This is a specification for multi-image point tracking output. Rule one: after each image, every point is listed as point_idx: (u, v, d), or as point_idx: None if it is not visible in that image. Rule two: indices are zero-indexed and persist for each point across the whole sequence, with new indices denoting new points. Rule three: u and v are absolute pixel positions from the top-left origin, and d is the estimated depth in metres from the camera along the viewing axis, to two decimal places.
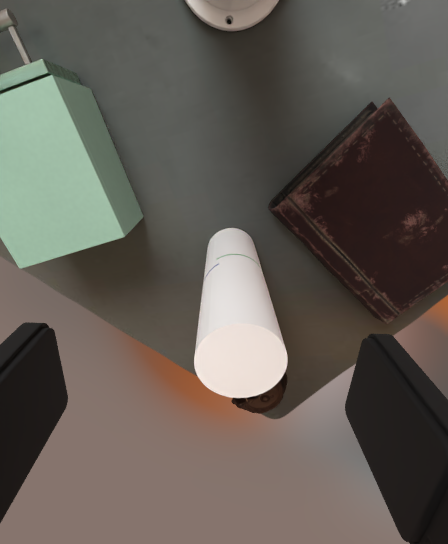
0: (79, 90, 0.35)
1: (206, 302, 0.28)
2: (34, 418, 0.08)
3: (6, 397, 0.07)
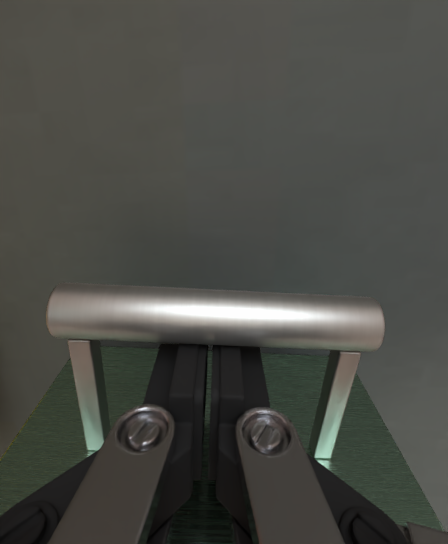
0: None
1: None
2: None
3: None
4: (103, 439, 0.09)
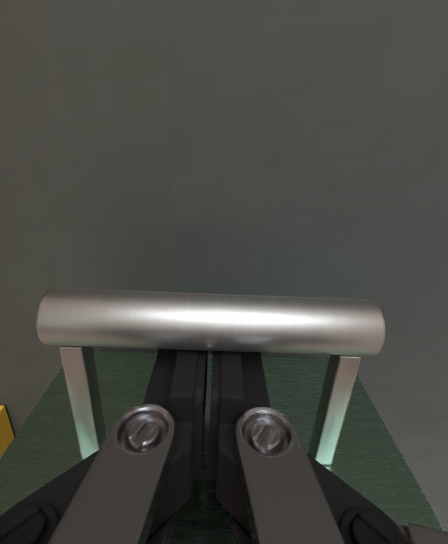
0: None
1: None
2: None
3: None
4: (98, 447, 0.09)
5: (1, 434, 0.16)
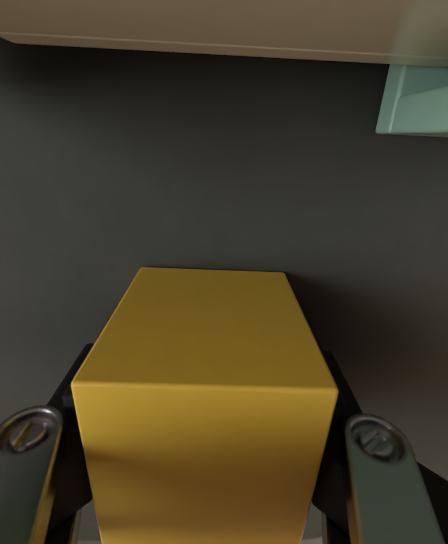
0: None
1: None
2: None
3: None
4: None
5: (178, 278, 0.09)
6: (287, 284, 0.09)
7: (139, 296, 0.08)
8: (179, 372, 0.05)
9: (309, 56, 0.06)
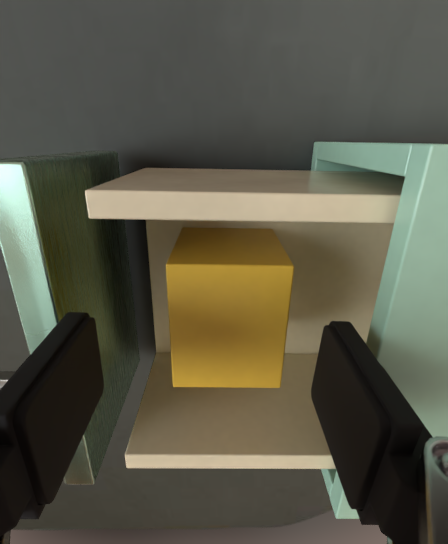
0: None
1: None
2: (80, 400, 0.09)
3: (61, 378, 0.08)
4: None
5: (207, 231, 0.15)
6: (273, 233, 0.15)
7: (186, 238, 0.14)
8: (216, 261, 0.11)
9: None
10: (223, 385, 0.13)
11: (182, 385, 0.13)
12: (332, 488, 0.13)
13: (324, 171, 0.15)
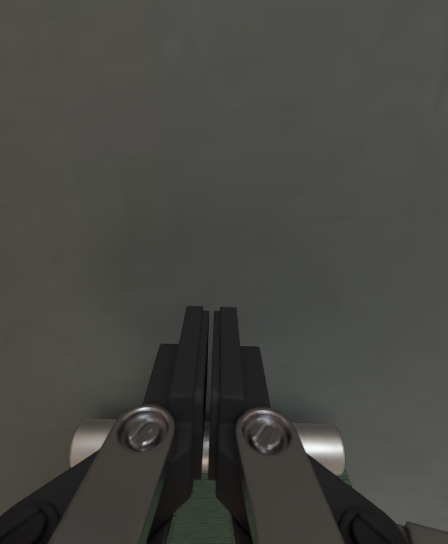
0: None
1: None
2: None
3: None
4: None
5: None
6: None
7: None
8: None
9: None
10: None
11: None
12: None
13: None
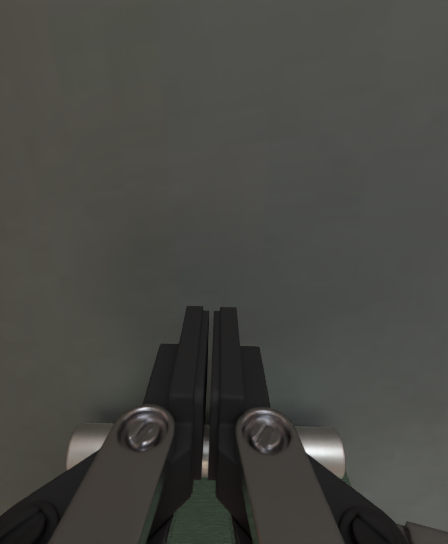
0: None
1: None
2: None
3: None
4: None
5: None
6: None
7: None
8: None
9: None
10: None
11: None
12: None
13: None
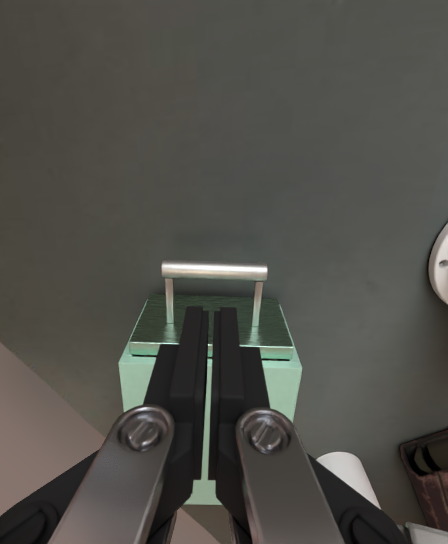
0: None
1: None
2: None
3: None
4: (173, 318, 0.26)
5: None
6: None
7: None
8: None
9: None
10: None
11: None
12: (129, 356, 0.24)
13: None
